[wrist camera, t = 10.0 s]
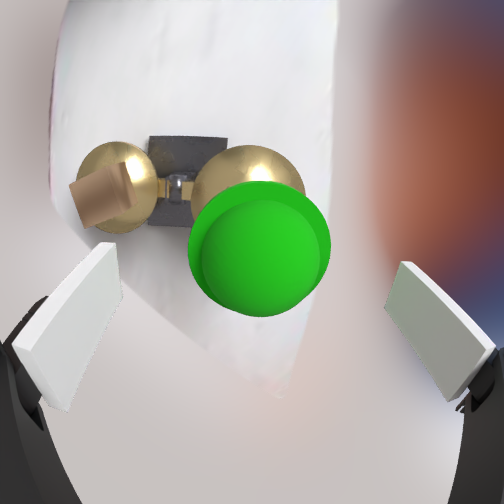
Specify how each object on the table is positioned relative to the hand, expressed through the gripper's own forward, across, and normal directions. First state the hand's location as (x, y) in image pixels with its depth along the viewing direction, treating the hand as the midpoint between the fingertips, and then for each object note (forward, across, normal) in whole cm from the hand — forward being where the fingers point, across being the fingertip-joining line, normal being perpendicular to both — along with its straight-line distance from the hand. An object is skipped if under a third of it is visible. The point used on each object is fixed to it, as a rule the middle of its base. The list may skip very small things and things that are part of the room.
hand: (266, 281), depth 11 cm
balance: (+26, -8, -1) cm, 27 cm away
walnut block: (+19, -15, 0) cm, 25 cm away
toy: (+15, 0, 0) cm, 15 cm away
